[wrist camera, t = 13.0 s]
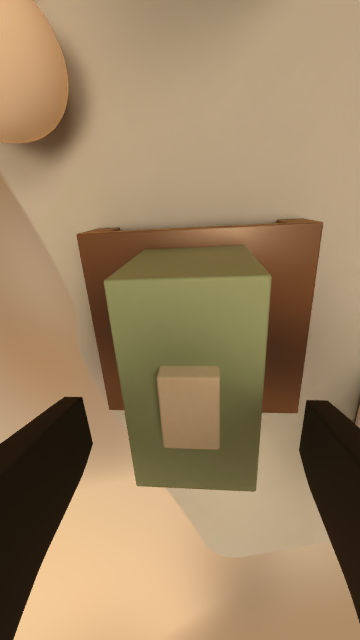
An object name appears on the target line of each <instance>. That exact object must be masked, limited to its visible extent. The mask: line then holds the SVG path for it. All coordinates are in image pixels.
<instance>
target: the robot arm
mask: <svg viewBox="0 0 360 640" xmlns="http://www.w3.org/2000/svg"><path fill="white" fill-rule="evenodd" d="M92 445H93V443H92V438H91V434H90V429H89V425H88V421H87V416H86V412H85V407H84V403H83V399H82V397H64V398H63V399H61V400H60V401H58V402H57V403H56V404H54V405H53V406H51V407H50V408H48V409H47V410H46V411H44V412H43V413H42V414H40V415H39V416H37V417H36V418H35V419H33V420H32V421H31V422H29V423H28V424H27V425H26V426H24V427H23V428H21V429H20V430H19V431H17V432H16V433H14V434H13V435H12V436H10V437H9V438H8V439H6V440H5V441H4V442H2V443H1V444H0V640H13V639H14V636H15V633H16V630H17V627H18V625H19V622H20V619H21V616H22V613H23V611H24V608H25V605H26V603H27V600H28V597H29V595H30V592H31V589H32V587H33V584H34V581H35V579H36V576H37V574H38V571H39V568H40V566H41V564H42V562H43V559H44V557H45V555H46V552H47V550H48V548H49V546H50V544H51V541H52V539H53V537H54V535H55V533H56V531H57V529H58V527H59V525H60V522H61V520H62V518H63V516H64V514H65V512H66V510H67V508H68V505H69V503H70V501H71V499H72V497H73V494H74V492H75V490H76V488H77V486H78V484H79V481H80V479H81V477H82V475H83V472H84V469H85V466H86V463H87V460H88V457H89V454H90V451H91V448H92ZM299 451H300V455H301V459H302V463H303V467H304V470H305V474H306V478H307V481H308V485H309V487H310V490H311V492H312V495H313V498H314V500H315V503H316V505H317V508H318V511H319V513H320V516H321V518H322V521H323V523H324V526H325V528H326V531H327V533H328V536H329V539H330V541H331V544H332V546H333V549H334V551H335V554H336V556H337V559H338V561H339V564H340V566H341V569H342V571H343V574H344V577H345V579H346V582H347V585H348V588H349V591H350V594H351V596H352V599H353V603H354V606H355V609H356V612H357V615H358V619H359V622H360V405H359V410H358V414H357V418H356V422H355V424H354V423H353V422H352V421H351V420H350V419H349V418H347V417H346V416H345V415H344V414H343V413H342V412H340V411H339V410H338V409H337V408H336V407H335V406H333V405H332V404H331V403H330V402H329V401H321V400H307V401H306V408H305V414H304V421H303V428H302V435H301V441H300V448H299Z"/></svg>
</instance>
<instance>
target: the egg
mask: <svg viewBox="0 0 360 640" xmlns="http://www.w3.org/2000/svg"><path fill="white" fill-rule="evenodd" d="M67 100H68V74H67V69H66V64H65V60H64V55H63V53H62V50H61V48H60V46H59V44H58V41H57V39H56V37H55V34H54V32H53V30H52V28H51V26H50V24H49V22H48V21H47V19H46V17H45V16H44V14H43V13H42V12H41V10H40V9H39V7H38V6H37V5H36V3H35V2H34V1H33V0H0V142H7V143H27V142H32V141H36V140H38V139H41V138H43V137H45V136H46V135H48V134H49V133H50V132H51V131H53V130H54V129H55V128H56V126H57V125H58V124H59V122H60V120H61V119H62V117H63V115H64V112H65V109H66V104H67Z"/></svg>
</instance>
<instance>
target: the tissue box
mask: <svg viewBox="0 0 360 640" xmlns="http://www.w3.org/2000/svg"><path fill="white" fill-rule="evenodd" d="M271 280H272V277H271V275H270V274H269V273H268V272H267V270H266V269H265V268H264V267H263V266H262V265H261V263H260V262H259V261H258V260H257V259H256V258H255V256H254V255H253V254H252V253H251V252H250V251H249V250H248V248H247V247H246V246H244V245H241V246H217V247H193V248H169V249H145V250H143V251H142V252H141V253H139V254H138V255H137V256H135V257H134V258H133V259H132V260H130V261H129V262H128V263H126V264H125V265H124V266H122V267H121V268H120V269H118V270H117V271H116V272H115V273H113V274H112V275H111V276H109V277H108V278H107V279H105V280H104V288H105V294H106V300H107V306H108V312H109V319H110V325H111V331H112V337H113V343H114V349H115V355H116V362H117V368H118V374H119V380H120V386H121V392H122V399H123V405H124V411H125V417H126V423H127V429H128V435H129V442H130V447H131V453H132V460H133V466H134V472H135V478H136V484H137V486H146V487H168V488H189V489H210V490H232V491H253V492H254V491H256V483H257V470H258V456H259V443H260V429H261V415H262V402H263V388H264V375H265V361H266V347H267V334H268V320H269V307H270V293H271Z"/></svg>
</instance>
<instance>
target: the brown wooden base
mask: <svg viewBox="0 0 360 640" xmlns="http://www.w3.org/2000/svg"><path fill="white" fill-rule="evenodd" d="M322 228H323V222H319V221H314V220H308V219H303V218H301V219H281V220H278V221H277V223H272V224H251V225H231V226H210V227H190V228H169V229H149V230H128V231H120V228H101V229H95V230H91V231H87V232H83V233H79V234H77V240H78V245H79V251H80V256H81V261H82V267H83V272H84V277H85V283H86V288H87V293H88V298H89V304H90V309H91V314H92V320H93V325H94V330H95V336H96V341H97V346H98V352H99V357H100V362H101V368H102V373H103V378H104V384H105V389H106V394H107V400H108V405H109V409H110V410H124V405H123V399H122V392H121V386H120V380H119V374H118V368H117V362H116V355H115V349H114V343H113V337H112V331H111V325H110V319H109V312H108V306H107V300H106V294H105V288H104V280H105V279H107V278H108V277H109V276H111V275H112V274H113V273H115V272H116V271H117V270H118V269H120V268H121V267H122V266H124V265H125V264H126V263H128V262H129V261H130V260H132V259H133V258H134V257H135V256H137V255H138V254H139V253H141V252H142V251H143V250H145V249H169V248H193V247H217V246H241V245H244V246H246V247H247V248H248V250H249V251H250V252H251V253H252V254H253V255H254V256H255V258H256V259H257V260H258V261H259V262H260V263H261V265H262V266H263V267H264V268H265V269H266V270H267V272H268V273H269V274H270V275H271V277H272V280H271V293H270V307H269V320H268V334H267V347H266V361H265V375H264V388H263V402H262V413H297V412H298V405H299V398H300V390H301V383H302V375H303V368H304V361H305V353H306V346H307V338H308V331H309V324H310V316H311V309H312V302H313V294H314V287H315V279H316V272H317V265H318V257H319V250H320V242H321V235H322Z"/></svg>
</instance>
